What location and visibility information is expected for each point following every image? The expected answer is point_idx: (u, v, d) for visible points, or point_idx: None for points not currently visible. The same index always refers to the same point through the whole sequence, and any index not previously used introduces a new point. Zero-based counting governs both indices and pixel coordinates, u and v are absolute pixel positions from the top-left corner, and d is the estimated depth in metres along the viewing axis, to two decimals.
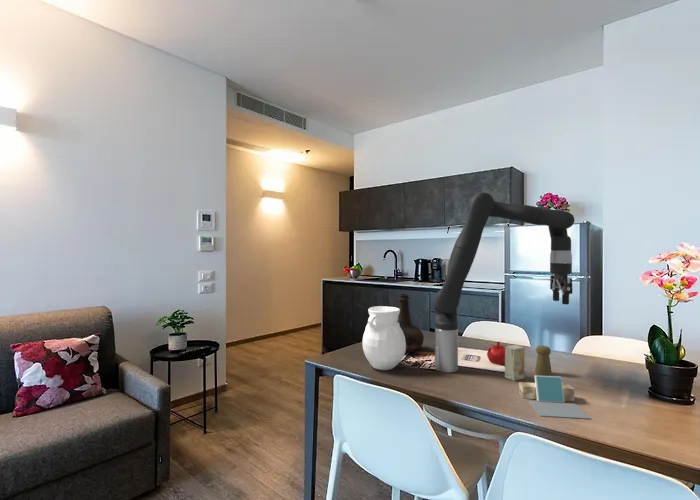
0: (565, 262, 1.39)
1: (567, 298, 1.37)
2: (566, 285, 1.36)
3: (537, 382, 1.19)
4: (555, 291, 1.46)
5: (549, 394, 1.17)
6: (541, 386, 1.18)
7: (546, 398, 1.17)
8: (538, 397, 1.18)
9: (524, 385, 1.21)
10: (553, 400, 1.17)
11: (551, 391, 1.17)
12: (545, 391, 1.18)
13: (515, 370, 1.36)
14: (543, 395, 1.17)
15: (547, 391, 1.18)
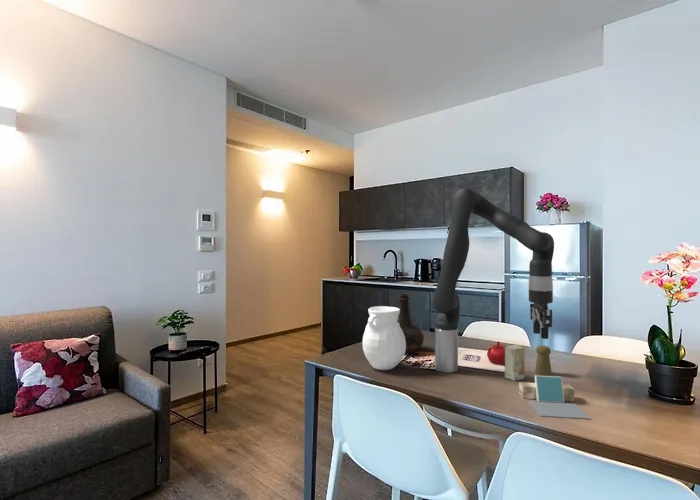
0: (545, 290, 1.22)
1: (546, 332, 1.21)
2: (545, 318, 1.19)
3: (537, 382, 1.19)
4: (536, 322, 1.29)
5: (549, 394, 1.17)
6: (541, 386, 1.18)
7: (546, 398, 1.17)
8: (538, 397, 1.18)
9: (524, 385, 1.21)
10: (553, 400, 1.17)
11: (551, 391, 1.17)
12: (545, 391, 1.18)
13: (515, 370, 1.36)
14: (543, 395, 1.18)
15: (547, 391, 1.18)
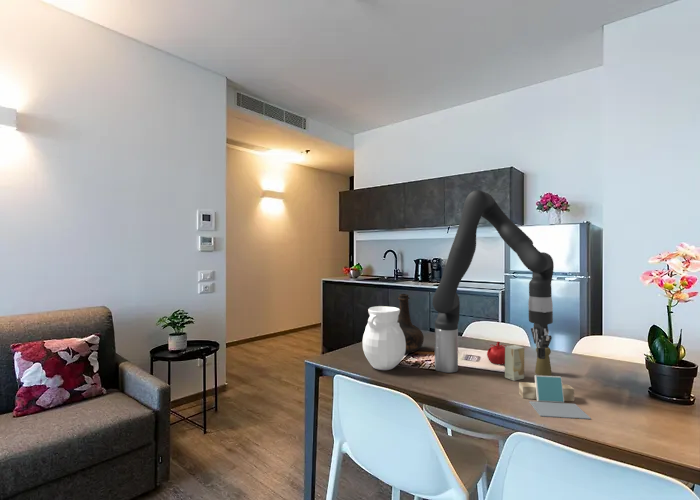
0: (545, 311, 1.22)
1: (543, 352, 1.24)
2: (543, 342, 1.21)
3: (537, 382, 1.19)
4: None
5: (549, 394, 1.17)
6: (541, 386, 1.18)
7: (546, 398, 1.17)
8: (538, 397, 1.18)
9: (524, 385, 1.21)
10: (553, 400, 1.17)
11: (550, 391, 1.18)
12: (545, 391, 1.18)
13: (515, 370, 1.36)
14: (543, 395, 1.18)
15: (547, 391, 1.18)
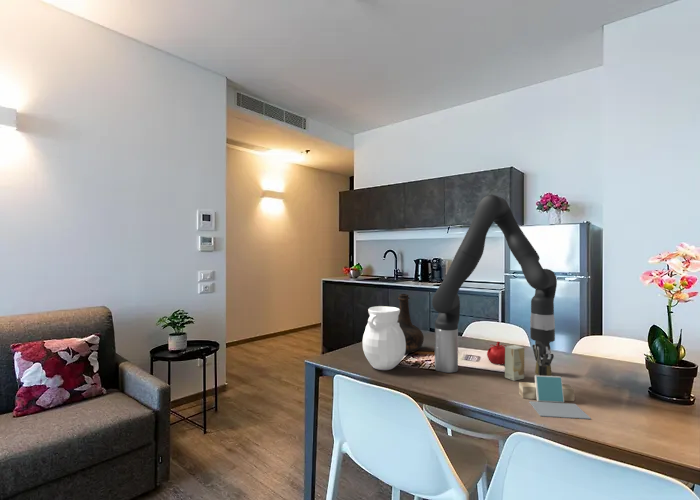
0: (547, 328, 1.21)
1: (544, 370, 1.23)
2: (545, 361, 1.20)
3: (537, 382, 1.19)
4: None
5: (549, 394, 1.17)
6: (541, 386, 1.18)
7: (546, 398, 1.17)
8: (538, 397, 1.18)
9: (524, 385, 1.21)
10: (553, 400, 1.17)
11: (550, 391, 1.18)
12: (545, 391, 1.18)
13: (515, 370, 1.36)
14: (543, 395, 1.18)
15: (547, 391, 1.18)
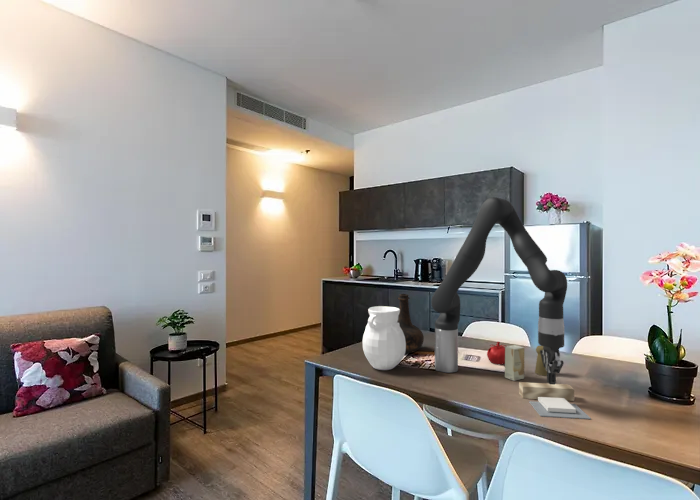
0: (556, 333, 1.13)
1: (553, 377, 1.16)
2: (554, 368, 1.13)
3: (546, 408, 1.12)
4: None
5: None
6: None
7: None
8: (540, 401, 1.16)
9: (524, 385, 1.21)
10: None
11: None
12: None
13: (515, 370, 1.36)
14: None
15: None
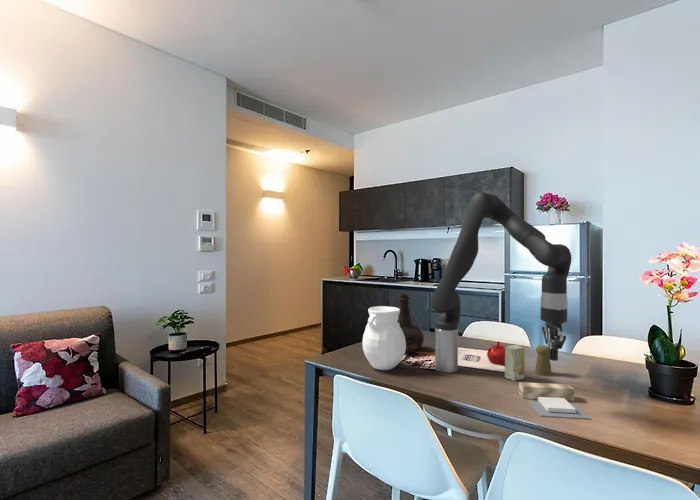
0: (559, 308, 1.11)
1: (555, 353, 1.13)
2: (556, 343, 1.10)
3: (546, 408, 1.12)
4: None
5: None
6: None
7: None
8: (540, 401, 1.16)
9: (524, 385, 1.21)
10: None
11: None
12: None
13: (515, 370, 1.36)
14: None
15: None
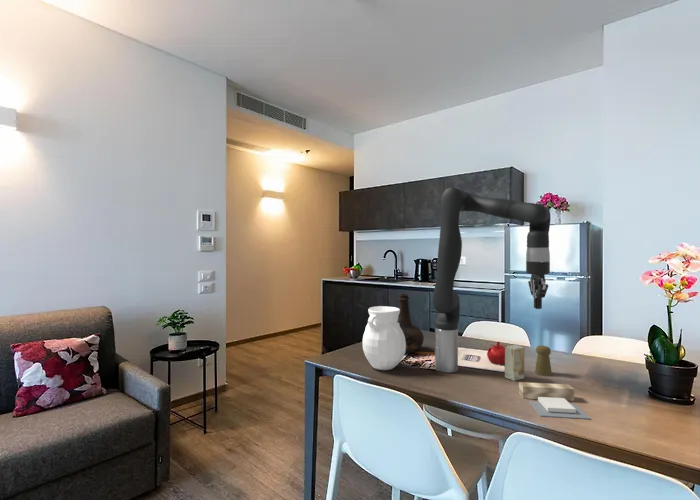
0: (542, 260, 1.24)
1: (540, 302, 1.27)
2: (540, 291, 1.24)
3: (546, 408, 1.12)
4: None
5: None
6: None
7: None
8: (540, 401, 1.16)
9: (524, 385, 1.21)
10: None
11: None
12: None
13: (515, 370, 1.36)
14: None
15: None
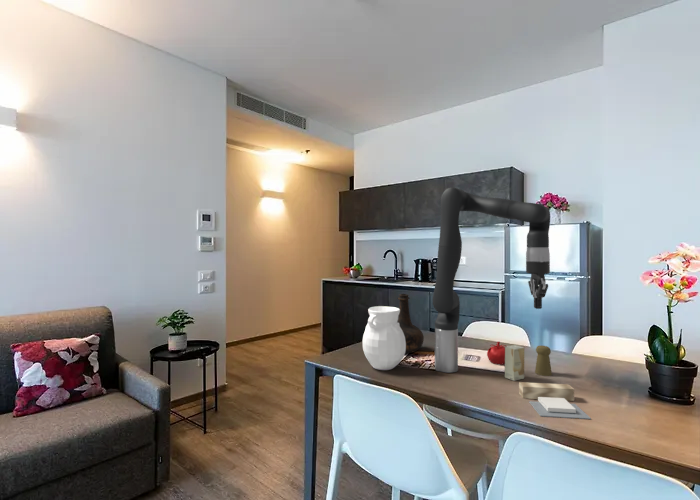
0: (542, 260, 1.24)
1: (540, 302, 1.27)
2: (540, 291, 1.24)
3: (546, 408, 1.12)
4: None
5: None
6: None
7: None
8: (540, 401, 1.16)
9: (524, 385, 1.21)
10: None
11: None
12: None
13: (515, 370, 1.36)
14: None
15: None
